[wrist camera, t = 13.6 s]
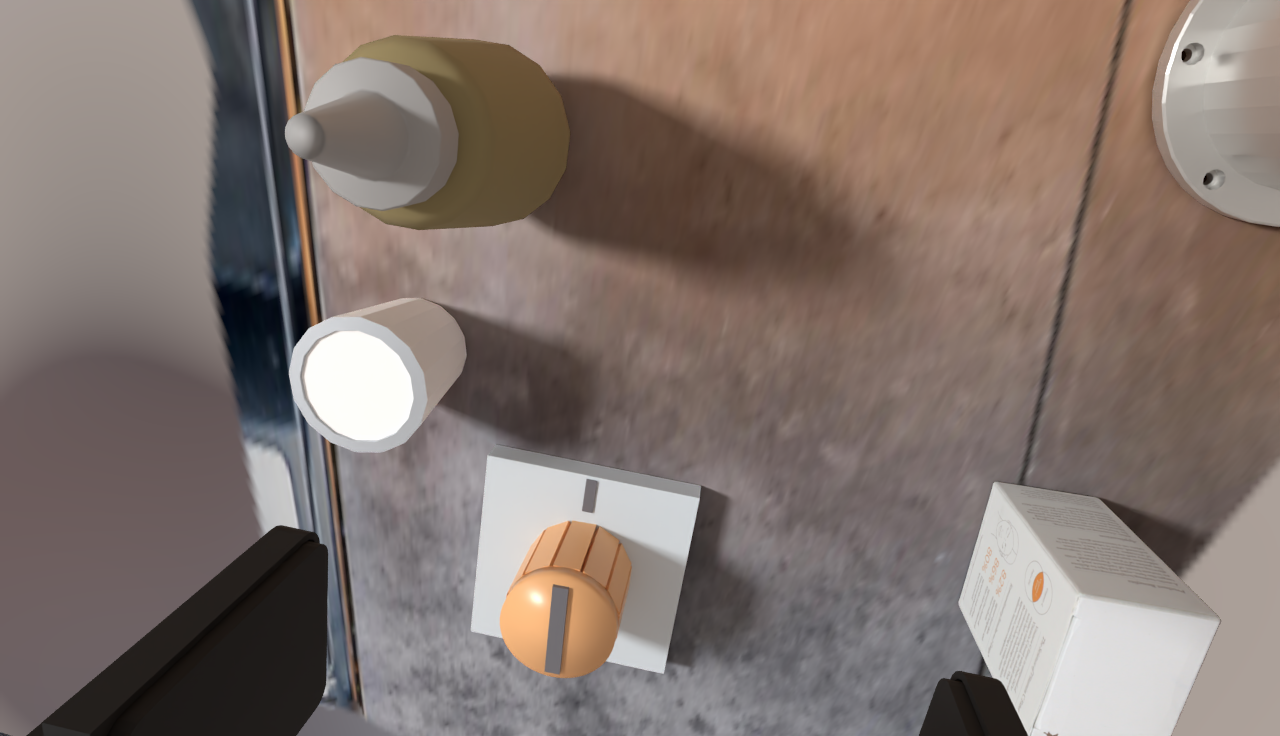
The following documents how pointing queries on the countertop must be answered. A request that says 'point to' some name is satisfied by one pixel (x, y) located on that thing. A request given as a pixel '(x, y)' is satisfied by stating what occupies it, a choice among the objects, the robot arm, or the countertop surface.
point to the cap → (567, 600)
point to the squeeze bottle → (436, 132)
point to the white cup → (376, 372)
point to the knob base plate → (611, 498)
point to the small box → (1081, 617)
